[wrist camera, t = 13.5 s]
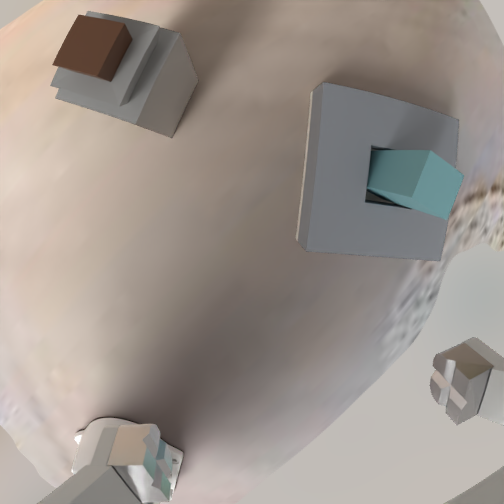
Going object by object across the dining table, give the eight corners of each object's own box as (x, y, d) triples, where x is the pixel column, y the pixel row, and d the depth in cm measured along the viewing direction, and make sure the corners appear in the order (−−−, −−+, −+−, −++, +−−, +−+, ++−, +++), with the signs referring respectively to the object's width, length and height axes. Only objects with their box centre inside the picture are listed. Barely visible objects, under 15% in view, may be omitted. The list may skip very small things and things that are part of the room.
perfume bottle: (171, 138, 31) (110, 116, 14) (116, 117, 30) (19, 88, 13) (198, 80, 30) (168, 3, 12) (142, 61, 29) (71, -12, 11)
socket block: (418, 249, 36) (440, 261, 32) (295, 238, 35) (306, 251, 30) (434, 122, 32) (458, 119, 27) (310, 92, 31) (323, 82, 26)
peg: (382, 199, 33) (446, 220, 22) (353, 183, 33) (411, 197, 21) (396, 167, 32) (464, 175, 21) (367, 150, 32) (430, 150, 20)
